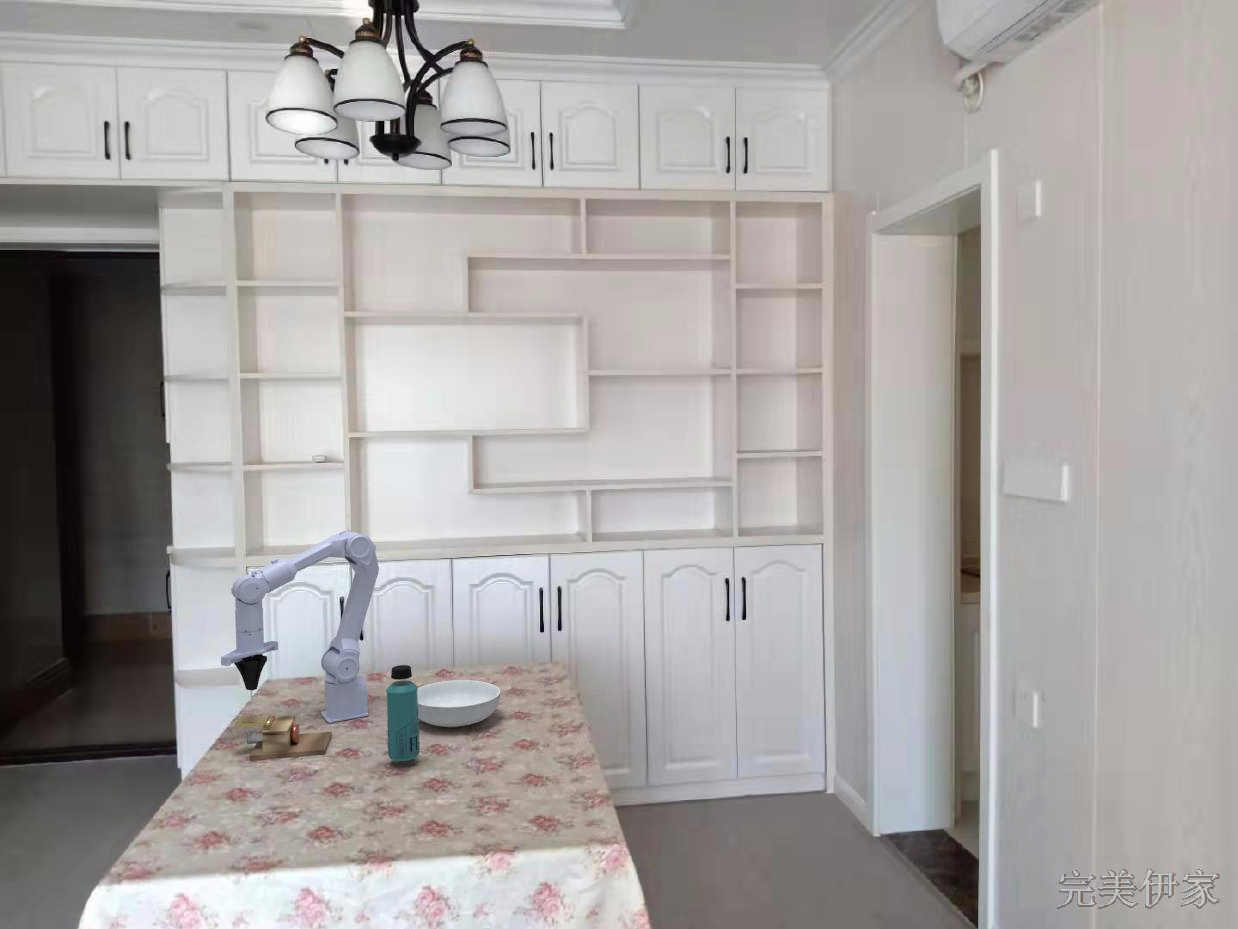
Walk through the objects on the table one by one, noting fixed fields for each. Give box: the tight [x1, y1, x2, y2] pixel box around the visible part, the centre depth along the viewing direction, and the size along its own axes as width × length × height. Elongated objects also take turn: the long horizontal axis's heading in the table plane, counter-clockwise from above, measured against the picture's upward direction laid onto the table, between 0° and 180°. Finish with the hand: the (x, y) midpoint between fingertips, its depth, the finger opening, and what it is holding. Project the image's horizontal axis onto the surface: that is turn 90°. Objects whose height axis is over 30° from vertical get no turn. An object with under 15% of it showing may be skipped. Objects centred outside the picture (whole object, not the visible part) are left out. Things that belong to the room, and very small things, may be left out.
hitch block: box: [249, 714, 333, 761], centre depth 186 cm, size 15×11×6 cm
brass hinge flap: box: [234, 715, 274, 728], centre depth 184 cm, size 7×4×1 cm, turn 101°
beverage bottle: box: [386, 664, 421, 762], centre depth 177 cm, size 6×7×20 cm
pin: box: [245, 724, 301, 745], centre depth 185 cm, size 10×4×4 cm, turn 101°
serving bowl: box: [417, 679, 501, 728], centre depth 202 cm, size 21×21×7 cm
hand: (251, 689), depth 193 cm, fingers closed
